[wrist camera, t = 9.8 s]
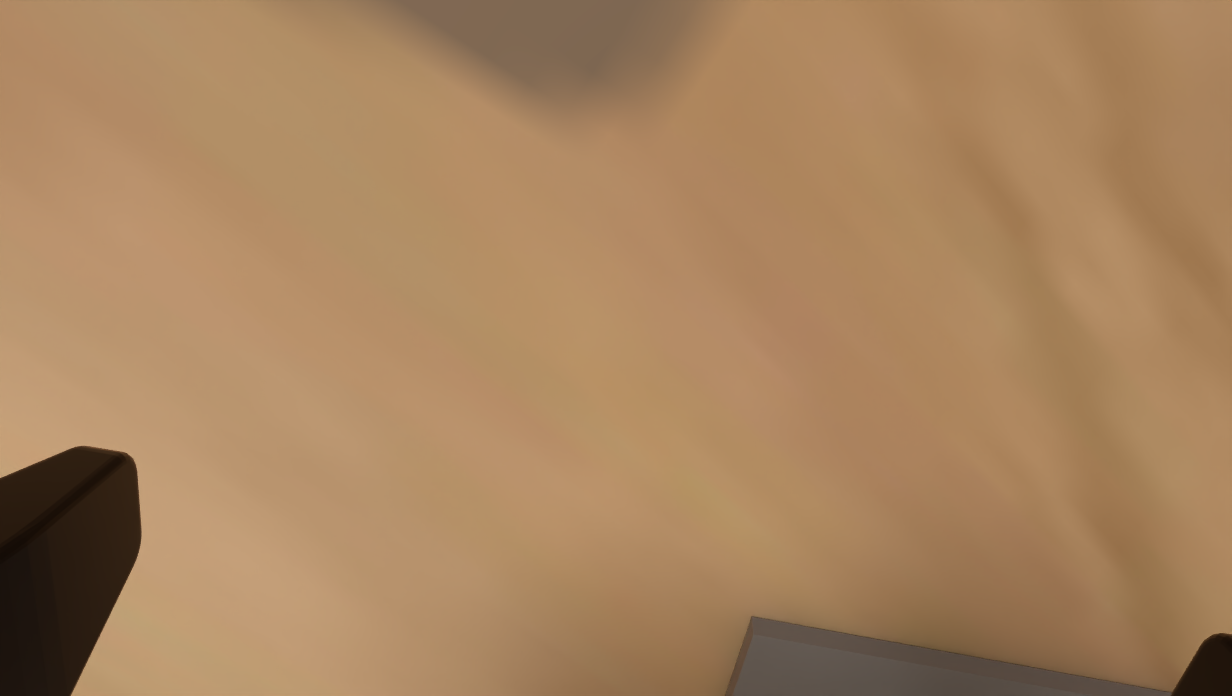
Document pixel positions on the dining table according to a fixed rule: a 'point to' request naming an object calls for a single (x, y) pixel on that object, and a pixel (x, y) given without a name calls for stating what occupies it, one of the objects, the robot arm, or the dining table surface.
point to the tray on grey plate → (888, 669)
